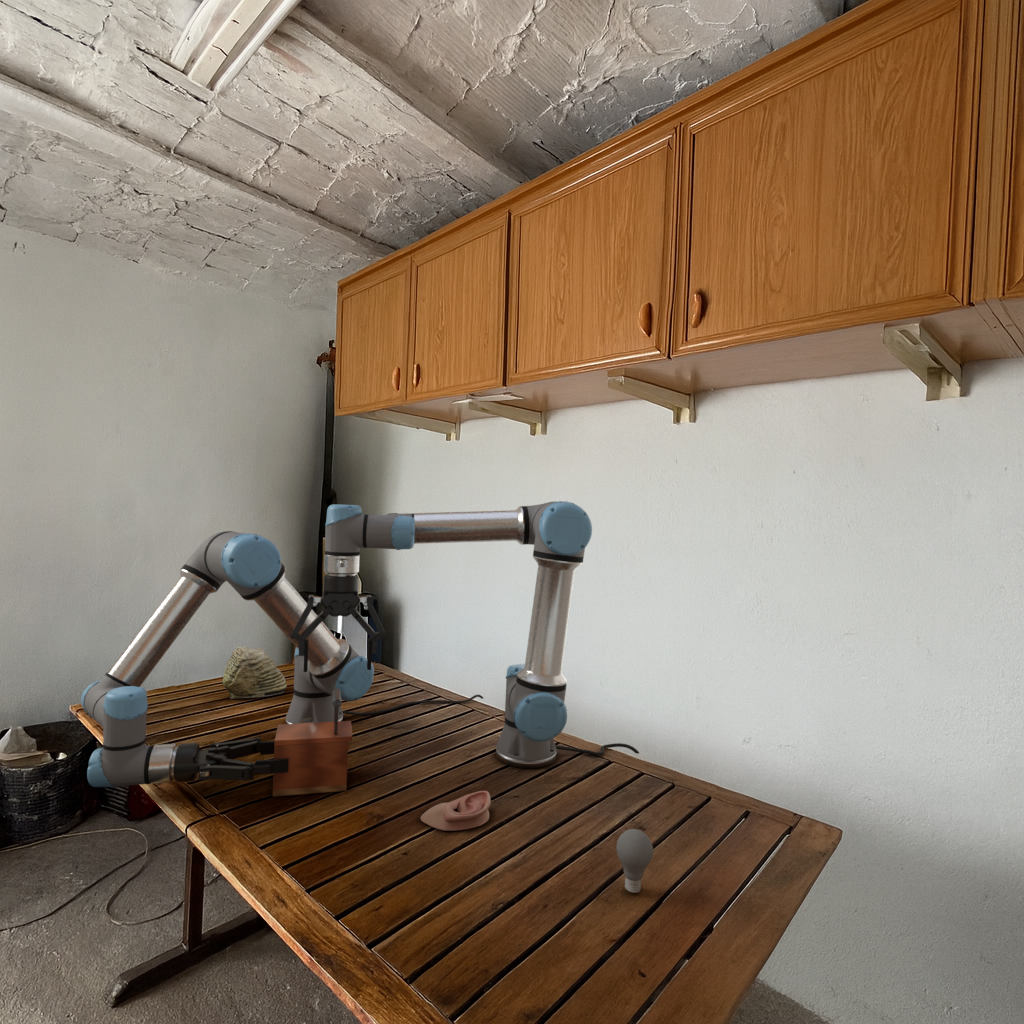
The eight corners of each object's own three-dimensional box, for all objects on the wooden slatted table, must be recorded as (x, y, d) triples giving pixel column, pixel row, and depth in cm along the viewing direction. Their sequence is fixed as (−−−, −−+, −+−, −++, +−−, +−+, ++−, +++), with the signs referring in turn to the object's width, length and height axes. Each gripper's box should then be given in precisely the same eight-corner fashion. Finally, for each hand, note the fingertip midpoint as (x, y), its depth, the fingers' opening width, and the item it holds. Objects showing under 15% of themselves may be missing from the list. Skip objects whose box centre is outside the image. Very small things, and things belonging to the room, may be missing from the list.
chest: (345, 771, 146) (347, 725, 146) (346, 790, 137) (348, 741, 137) (276, 776, 142) (277, 729, 142) (272, 796, 133) (274, 746, 133)
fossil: (218, 695, 195) (220, 647, 195) (278, 685, 208) (279, 640, 207) (228, 703, 189) (230, 653, 188) (289, 692, 201) (290, 645, 201)
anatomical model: (415, 806, 123) (434, 781, 134) (414, 826, 123) (433, 799, 134) (481, 816, 120) (495, 789, 132) (480, 836, 120) (494, 808, 132)
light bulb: (610, 879, 108) (613, 822, 108) (644, 879, 109) (647, 822, 109) (619, 902, 102) (622, 840, 102) (655, 901, 103) (658, 840, 103)
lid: (350, 725, 146) (352, 686, 146) (352, 741, 137) (353, 699, 137) (278, 729, 142) (279, 689, 142) (274, 745, 133) (276, 702, 133)
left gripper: (187, 759, 143) (291, 752, 149) (162, 806, 121) (285, 795, 128) (188, 726, 143) (293, 720, 149) (163, 767, 121) (287, 758, 127)
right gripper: (280, 575, 133) (276, 675, 134) (400, 576, 140) (396, 672, 140) (282, 571, 140) (279, 666, 141) (396, 572, 147) (392, 663, 148)
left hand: (289, 755), depth 138 cm, fingers closed on chest, 10 cm apart
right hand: (337, 669), depth 141 cm, fingers open, 13 cm apart
